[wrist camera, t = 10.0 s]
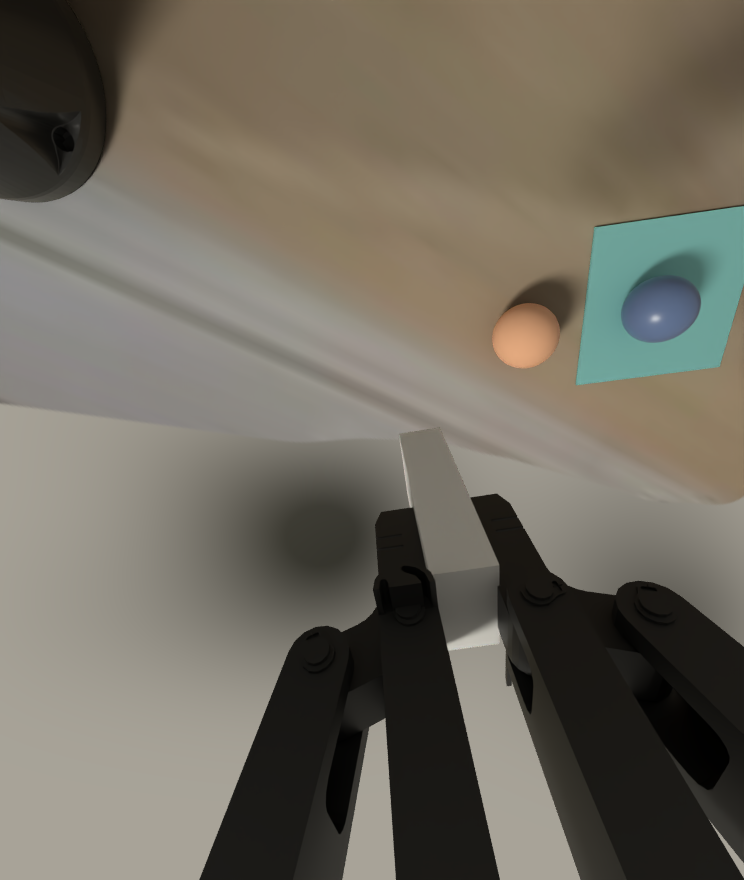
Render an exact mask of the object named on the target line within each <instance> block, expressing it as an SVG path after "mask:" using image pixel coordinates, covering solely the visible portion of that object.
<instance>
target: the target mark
mask: <svg viewBox="0 0 744 880" xmlns="http://www.w3.org/2000/svg"><path fill="white" fill-rule="evenodd" d="M662 275H675V276H680V277H683V278H685V279H687V280H689V281H690V282H692V283H693V284H694V285H695V286H696V288H697V289H698V291H699V293H700V296H701V308H700V312H699V315H698V317H697V319H696V320H695V322H694V323H693V324H692V325H691V327H690V328H689V329H688V330H686V331H685V332H684V333H682V334H681V335H679V336H678V337H676V338H673V339H671V340H668V341H665V342H658V343H648V342H643V341H639V340H637V339H635V338H633V337H632V336H631V335H629V334H628V333H627V332H626V330H625V329H624V327H623V324H622V321H621V310H622V306H623V303H624V301H625V299H626V298H627V296H628V295H629V293H630V292H631V291H632V290H633V289H634V288H635V287H637V286H638V285H639V284H641V283H642V282H644V281H646V280H648V279H650V278H653V277H657V276H662ZM743 285H744V206H740V207H733V208H726V209H719V210H712V211H705V212H698V213H691V214H684V215H677V216H670V217H663V218H657V219H650V220H643V221H636V222H629V223H622V224H615V225H608V226H601V227H594V235H593V243H592V252H591V260H590V268H589V277H588V285H587V294H586V302H585V310H584V319H583V327H582V335H581V344H580V352H579V360H578V369H577V377H576V385H582V384H589V383H597V382H605V381H613V380H621V379H628V378H636V377H644V376H652V375H659V374H667V373H675V372H683V371H691V370H698V369H706V368H714V367H720V363H721V360H722V356H723V353H724V349H725V346H726V343H727V339H728V336H729V332H730V329H731V326H732V322H733V319H734V315H735V312H736V309H737V305H738V302H739V298H740V295H741V291H742V288H743Z"/></svg>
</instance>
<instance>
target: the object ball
mask: <svg viewBox="0 0 744 880" xmlns="http://www.w3.org/2000/svg"><path fill="white" fill-rule="evenodd" d="M700 308H701V296H700V293H699V291H698V289H697V288H696V286H695V285H694V284H693V283H692V282H690V281H689V280H687V279H685V278H683V277H680V276H675V275H662V276H657V277H653V278H650V279H648V280H646V281H644V282H642V283H641V284H639V285H638V286H637V287H635V288H634V289H633V290H632V291H631V292H630V293H629V295H628V296H627V298H626V299H625V301H624V303H623V306H622V310H621V321H622V324H623V327H624V329H625V330H626V332H627V333H628V334H629V335H631V336H632V337H633V338H635V339H637V340H639V341H643V342H648V343H658V342H665V341H668V340H671V339H673V338H676V337H678V336H679V335H681V334H682V333H684V332H685V331H686V330H688V329H689V328H690V327H691V325H692V324H693V323H694V322H695V320H696V319H697V317H698V315H699V312H700Z"/></svg>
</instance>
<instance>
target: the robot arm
mask: <svg viewBox="0 0 744 880" xmlns="http://www.w3.org/2000/svg"><path fill="white" fill-rule="evenodd" d="M105 131H106V106H105V97H104V90H103V85H102V80H101V76H100V72H99V69H98V66H97V62H96V59H95V57H94V54H93V51H92V49H91V46H90V44H89V42H88V39H87V37H86V35H85V33H84V31H83V29H82V27H81V25H80V23H79V21H78V19H77V18H76V16H75V14H74V13H73V11H72V9H71V8H70V6H69V5H68V3H67V2H66V0H0V199H7V200H15V201H22V202H48V201H53V200H56V199H59V198H62V197H64V196H67V195H68V194H70V193H72V192H74V191H75V190H76V189H78V188H79V187H80V186H81V185H82V184H83V183H84V182H85V181H86V180H87V179H88V177H89V176H90V175H91V173H92V172H93V170H94V168H95V166H96V164H97V162H98V160H99V157H100V155H101V151H102V148H103V144H104V138H105ZM399 438H400V445H401V452H402V459H403V466H404V473H405V480H406V487H407V494H408V499H409V504H410V508H406V509H399V510H392V511H386V512H381V513H380V515H379V517H378V520H377V522H376V524H375V529H376V544H377V559H378V572H379V575H378V576H377V577H376V579H375V582H374V587H373V592H374V596H375V601H376V605H377V607H376V608H375V610H374V611H373V613H372V614H371V615H370V616H369V617H368V618H367V619H366V620H365V621H363V622H361V623H360V624H358V625H356V626H354V627H352V628H350V629H348V630H345V631H343V632H340V631H339V630H338V629H336V628H333V627H329V626H321V627H315V628H313V629H311V630H308V631H306V632H304V633H303V634H302V635H301V636H300V637H299V638H298V639H297V640H296V641H295V642H294V644H293V645H292V647H291V649H290V650H289V652H288V655H287V657H286V660H285V662H284V665H283V667H282V670H281V672H280V675H279V678H278V680H277V683H276V685H275V688H274V690H273V693H272V695H271V698H270V701H269V703H268V706H267V708H266V711H265V713H264V716H263V718H262V721H261V724H260V726H259V729H258V731H257V734H256V736H255V739H254V741H253V744H252V747H251V749H250V752H249V754H248V757H247V759H246V762H245V765H244V767H243V770H242V772H241V775H240V777H239V780H238V782H237V785H236V788H235V790H234V793H233V795H232V798H231V800H230V803H229V805H228V809H227V811H226V813H225V816H224V818H223V821H222V823H221V826H220V828H219V831H218V834H217V836H216V839H215V841H214V844H213V846H212V849H211V851H210V854H209V857H208V859H207V862H206V864H205V867H204V870H203V872H202V875H201V877H200V880H342V878H343V872H344V866H345V861H346V855H347V849H348V843H349V838H350V832H351V826H352V821H353V816H354V810H355V804H356V799H357V792H358V787H359V782H360V776H361V770H362V765H363V759H364V753H365V748H366V742H367V737H368V731H369V727H370V726H371V725H374V724H375V723H377V722H379V721H381V720H383V719H384V718H386V733H387V749H388V764H389V779H390V795H391V810H392V825H393V841H394V856H395V871H396V880H500V878H499V874H498V869H497V865H496V860H495V856H494V851H493V847H492V843H491V838H490V834H489V829H488V825H487V820H486V816H485V811H484V807H483V803H482V798H481V794H480V789H479V785H478V780H477V776H476V772H475V767H474V763H473V759H472V754H471V749H470V745H469V741H468V737H467V732H466V727H465V723H464V719H463V714H462V710H461V705H460V701H459V696H458V692H457V687H456V684H455V679H454V674H453V670H452V665H451V661H450V656H449V652H448V650H456V649H463V648H471V647H478V646H486V645H492V644H499V632H500V635H501V637H502V640H503V643H504V646H505V648H506V683H507V686H511V685H512V683H513V685H514V688H515V691H516V694H517V697H518V700H519V703H520V706H521V709H522V711H523V715H524V717H525V720H526V723H527V726H528V729H529V732H530V735H531V737H532V741H533V743H534V746H535V749H536V752H537V755H538V758H539V760H540V764H541V766H542V769H543V772H544V775H545V778H546V781H547V784H548V787H549V789H550V792H551V795H552V798H553V801H554V804H555V807H556V810H557V813H558V816H559V818H560V821H561V824H562V827H563V830H564V833H565V836H566V838H567V841H568V844H569V847H570V850H571V853H572V856H573V859H574V862H575V865H576V867H577V870H578V873H579V876H580V879H581V880H744V878H743V876H742V875H741V873H740V871H739V870H738V868H737V866H736V865H735V863H734V861H733V859H732V858H731V856H730V855H729V853H728V851H727V850H726V848H725V846H724V844H723V843H722V841H721V840H720V838H719V837H718V834H717V833H716V831H715V829H714V828H713V826H712V825H711V823H712V824H713V825H714V826H715V828H716V829H717V830H718V831H719V833H720V834H721V835H722V836H723V838H724V839H725V840H726V841H727V843H728V844H729V845H730V846H731V848H732V849H733V850H734V851H735V853H736V854H737V855H738V856H739V858H740V859H741V860H742V861H743V862H744V647H743V646H742V645H741V644H740V643H738V642H737V641H736V640H735V639H733V638H732V637H731V636H730V635H728V634H727V633H726V632H725V631H723V630H722V629H721V628H720V627H718V626H717V625H716V624H715V623H713V622H712V621H711V620H710V619H708V618H707V617H706V616H705V615H704V614H702V613H701V612H700V611H699V610H697V609H696V608H695V607H694V606H692V605H691V604H690V603H689V602H687V601H686V600H685V599H684V598H682V597H681V596H680V595H678V594H676V593H675V592H673V591H672V590H670V589H668V588H666V587H663V586H660V585H658V584H655V583H651V582H644V581H635V582H629V583H626V584H624V585H623V586H621V587H620V588H619V589H618V591H617V594H616V595H609V594H601V593H594V592H587V591H583V590H578V589H575V588H572V587H570V586H567V584H566V583H565V582H564V581H563V580H562V579H561V578H559V577H557V576H556V575H554V574H553V573H551V572H550V571H549V570H548V569H547V568H546V566H545V564H544V562H543V561H542V559H541V557H540V555H539V553H538V552H537V550H536V548H535V547H534V545H533V543H532V541H531V539H530V538H529V536H528V534H527V533H526V531H525V529H523V526H522V524H521V522H520V520H519V519H518V518H517V515H516V513H515V511H514V510H513V508H512V506H511V504H510V503H509V502H507V501H506V500H505V499H503V498H502V497H501V496H499V495H498V494H491V495H485V496H478V497H471V498H470V497H469V494H468V492H467V489H466V487H465V485H464V483H463V480H462V478H461V476H460V473H459V471H458V468H457V466H456V464H455V462H454V459H453V457H452V455H451V452H450V450H449V448H448V445H447V443H446V441H445V439H444V436H443V434H442V432H441V429H440V428H434V429H427V430H421V431H415V432H408V433H402V434H399ZM709 820H710V821H709ZM710 822H711V823H710Z"/></svg>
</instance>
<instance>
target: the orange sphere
mask: <svg viewBox="0 0 744 880" xmlns="http://www.w3.org/2000/svg"><path fill="white" fill-rule="evenodd" d="M559 338H560V327H559V323H558V321H557V319H556V317H555V315H554V314H553V313H552V312H551V311H550V310H549V309H547V308H546V307H544V306H542V305H539V304H534V303H524V304H520V305H517V306H514V307H512V308H510V309H509V310H507V311H506V312H505V313H504V314H503V315H502V316H501V317H500V318H499V320H498V321H497V323H496V325H495V327H494V330H493V337H492V341H493V347H494V350H495V352H496V354H497V355H498V357H499V358H500V359H501V360H502V361H503V362H505V363H506V364H508V365H510V366H513V367H516V368H530V367H534V366H536V365H539V364H541V363H542V362H544V361H545V360H547V359H548V358H549V357H550V356H551V355H552V353H553V352H554V351H555V349H556V347H557V345H558V342H559Z"/></svg>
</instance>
